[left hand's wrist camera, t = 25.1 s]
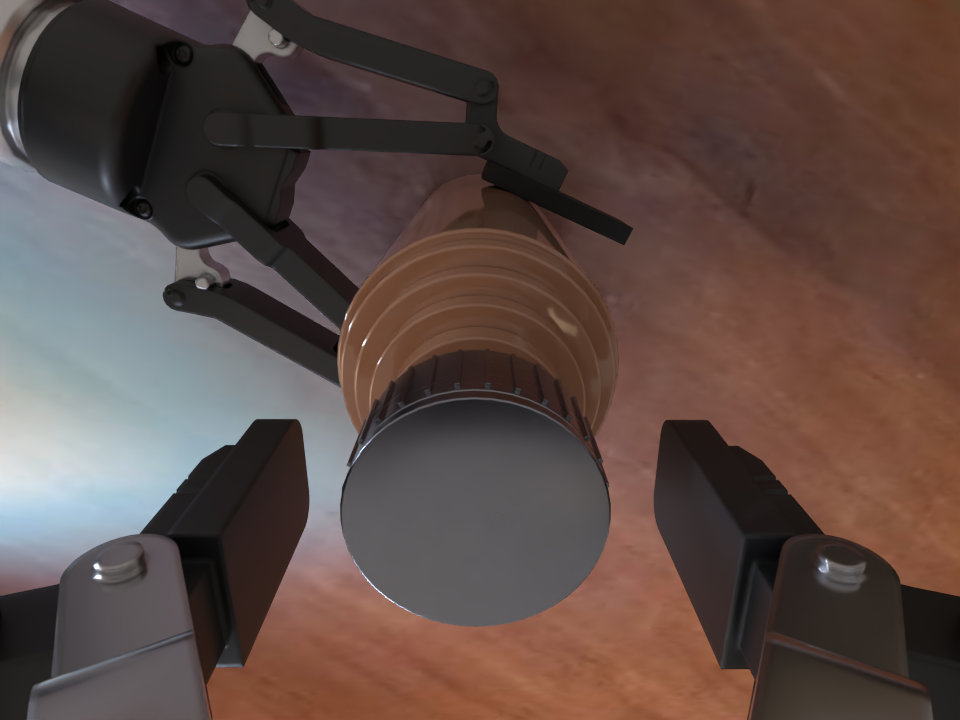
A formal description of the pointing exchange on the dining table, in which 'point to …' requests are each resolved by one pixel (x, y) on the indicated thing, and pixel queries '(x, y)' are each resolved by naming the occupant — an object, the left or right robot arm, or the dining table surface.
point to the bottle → (478, 300)
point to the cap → (475, 491)
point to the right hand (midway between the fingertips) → (578, 313)
